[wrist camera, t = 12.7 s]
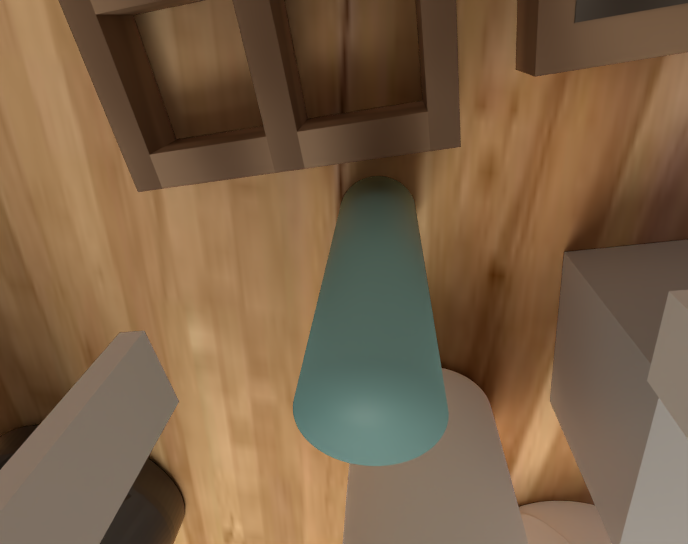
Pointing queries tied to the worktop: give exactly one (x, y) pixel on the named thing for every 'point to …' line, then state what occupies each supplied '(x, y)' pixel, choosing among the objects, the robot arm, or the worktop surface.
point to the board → (597, 33)
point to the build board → (259, 98)
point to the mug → (563, 523)
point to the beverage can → (440, 485)
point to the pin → (373, 337)
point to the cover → (621, 388)
